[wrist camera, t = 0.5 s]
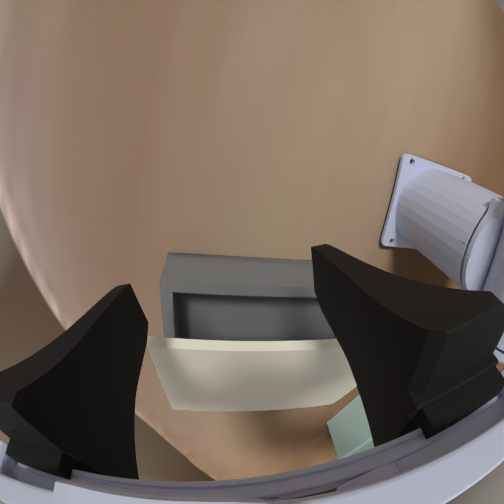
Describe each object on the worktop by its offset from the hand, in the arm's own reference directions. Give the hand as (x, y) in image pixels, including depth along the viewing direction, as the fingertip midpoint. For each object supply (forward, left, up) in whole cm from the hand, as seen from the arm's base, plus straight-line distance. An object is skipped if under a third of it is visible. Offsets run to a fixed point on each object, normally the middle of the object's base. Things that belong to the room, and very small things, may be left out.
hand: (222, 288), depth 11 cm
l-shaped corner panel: (-25, +28, -11) cm, 39 cm away
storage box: (-4, +11, -10) cm, 15 cm away
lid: (-4, +11, -4) cm, 13 cm away
